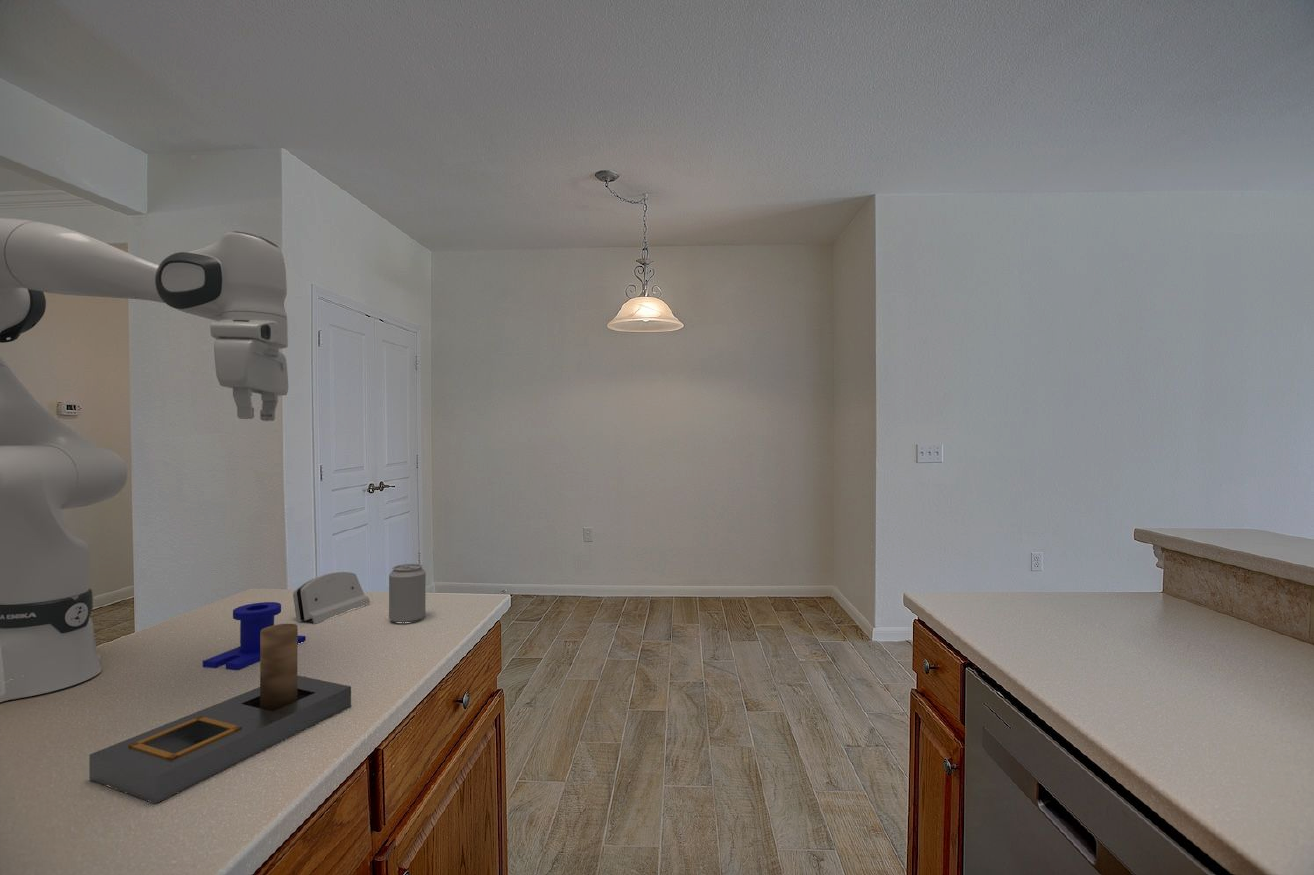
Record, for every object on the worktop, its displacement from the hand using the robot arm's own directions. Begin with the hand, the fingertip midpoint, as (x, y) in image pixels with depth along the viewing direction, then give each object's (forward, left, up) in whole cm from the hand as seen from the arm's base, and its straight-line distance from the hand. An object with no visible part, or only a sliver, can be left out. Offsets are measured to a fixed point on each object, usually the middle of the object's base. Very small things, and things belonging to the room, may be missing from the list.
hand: (257, 419), depth 96 cm
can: (+9, +35, -44) cm, 57 cm away
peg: (+11, -11, -43) cm, 46 cm away
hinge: (-11, +40, -44) cm, 60 cm away
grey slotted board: (+9, -17, -43) cm, 47 cm away
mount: (-10, +14, -44) cm, 47 cm away
